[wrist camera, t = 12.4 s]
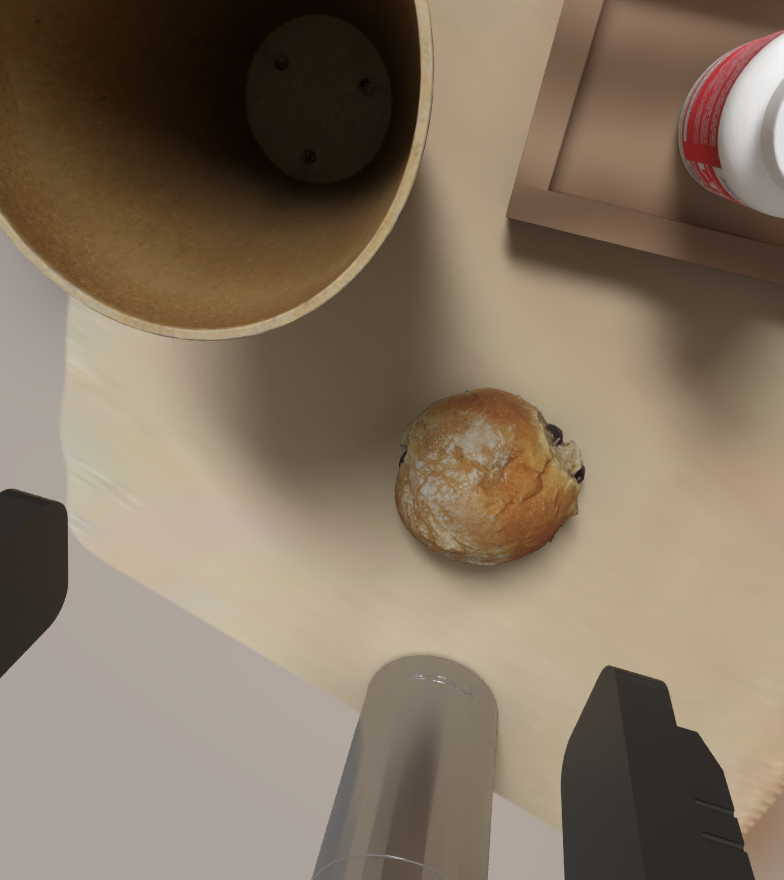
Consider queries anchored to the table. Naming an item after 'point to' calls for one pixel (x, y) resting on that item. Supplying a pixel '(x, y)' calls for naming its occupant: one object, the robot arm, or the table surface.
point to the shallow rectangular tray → (640, 133)
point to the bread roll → (486, 478)
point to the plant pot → (209, 151)
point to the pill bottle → (739, 126)
